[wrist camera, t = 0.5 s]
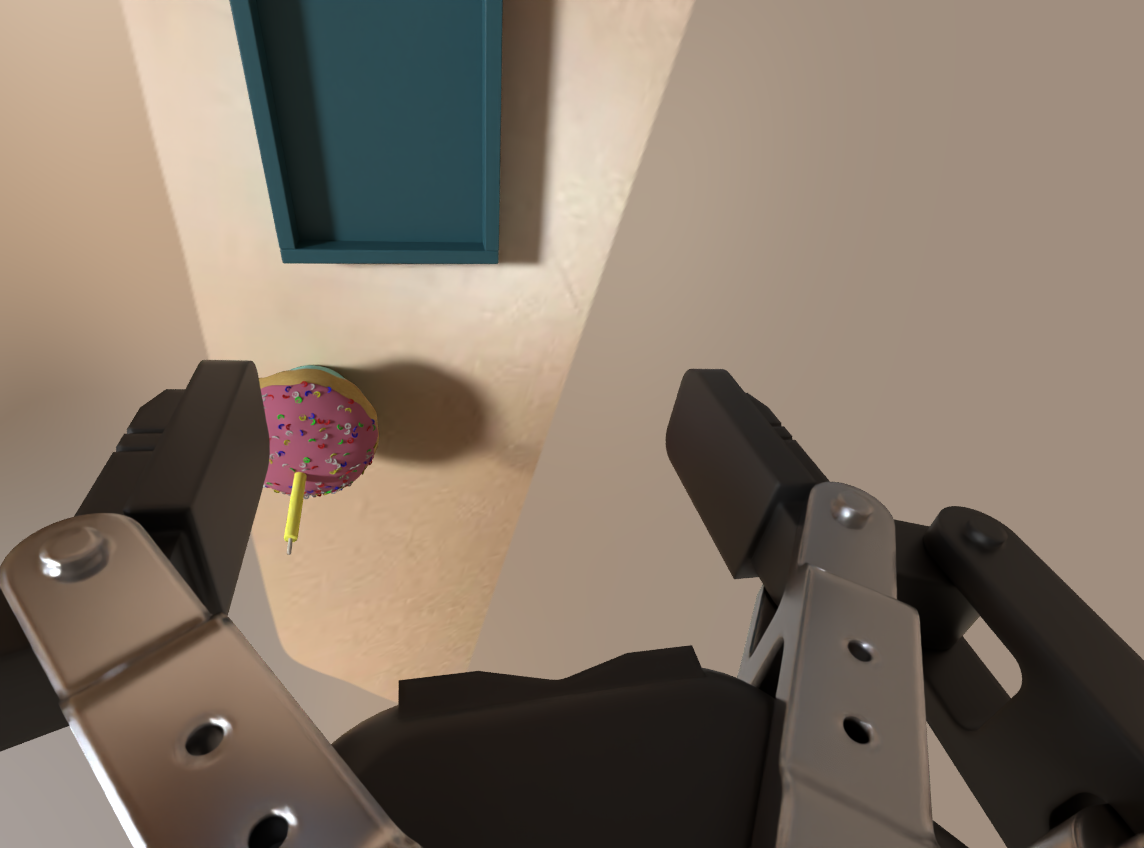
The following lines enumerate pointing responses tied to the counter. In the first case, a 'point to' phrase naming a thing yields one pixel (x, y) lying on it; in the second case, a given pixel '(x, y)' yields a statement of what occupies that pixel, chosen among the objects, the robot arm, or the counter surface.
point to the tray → (377, 126)
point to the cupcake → (315, 435)
